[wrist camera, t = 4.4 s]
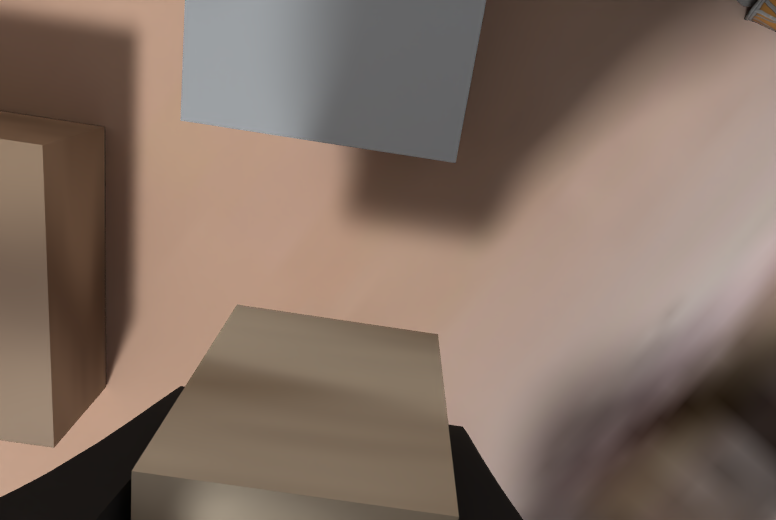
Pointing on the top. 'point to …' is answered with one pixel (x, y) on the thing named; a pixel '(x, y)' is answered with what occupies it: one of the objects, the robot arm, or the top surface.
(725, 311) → the top surface
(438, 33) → the slate grey block
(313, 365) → the maple block
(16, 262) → the tan square slab
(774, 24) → the toy blunderbuss
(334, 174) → the top surface
